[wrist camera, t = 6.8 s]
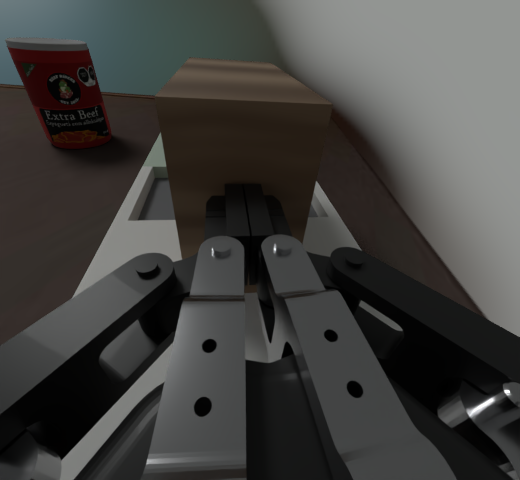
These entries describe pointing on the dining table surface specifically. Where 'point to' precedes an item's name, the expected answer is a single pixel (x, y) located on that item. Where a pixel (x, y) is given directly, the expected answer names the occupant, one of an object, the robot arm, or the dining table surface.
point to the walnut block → (239, 140)
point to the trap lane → (167, 242)
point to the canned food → (62, 90)
